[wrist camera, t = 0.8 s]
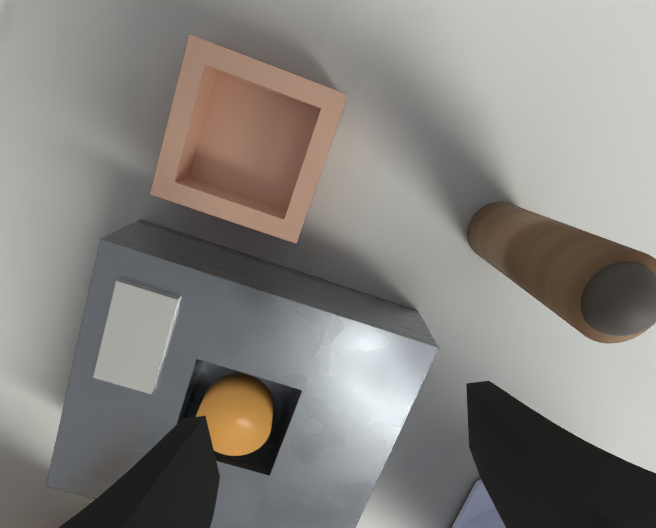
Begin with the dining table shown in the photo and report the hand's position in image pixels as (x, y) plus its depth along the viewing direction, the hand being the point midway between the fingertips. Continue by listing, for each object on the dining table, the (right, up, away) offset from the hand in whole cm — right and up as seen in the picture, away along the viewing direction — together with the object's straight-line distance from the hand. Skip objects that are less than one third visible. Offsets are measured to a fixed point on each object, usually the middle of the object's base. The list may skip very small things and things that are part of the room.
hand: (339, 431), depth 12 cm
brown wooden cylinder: (+8, +6, +9) cm, 13 cm away
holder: (-4, +10, +8) cm, 13 cm away
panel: (-4, -1, +11) cm, 12 cm away
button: (-4, -2, +8) cm, 9 cm away
